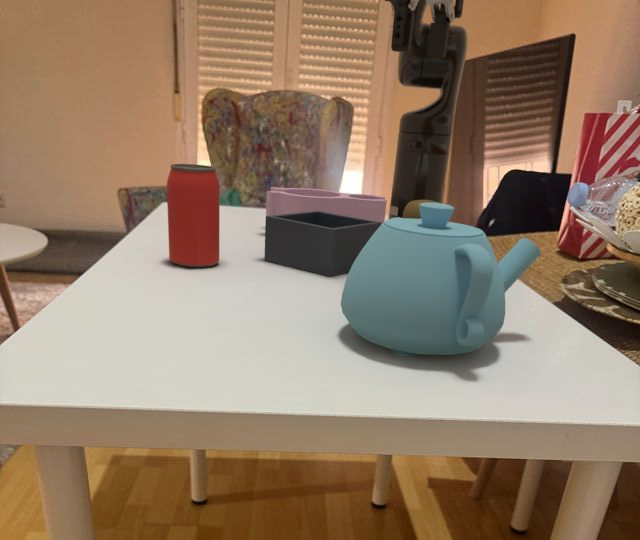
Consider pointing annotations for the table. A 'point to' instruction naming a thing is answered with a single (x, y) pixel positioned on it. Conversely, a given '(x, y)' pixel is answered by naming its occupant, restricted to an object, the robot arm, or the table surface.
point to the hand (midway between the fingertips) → (418, 55)
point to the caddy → (316, 240)
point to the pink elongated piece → (325, 203)
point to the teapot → (431, 285)
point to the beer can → (193, 215)
